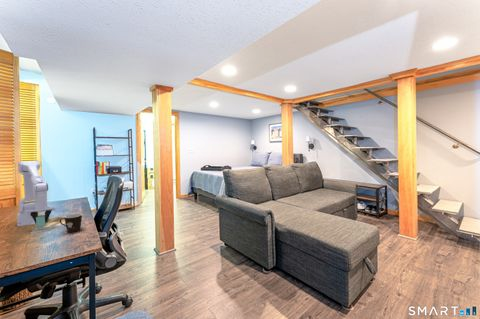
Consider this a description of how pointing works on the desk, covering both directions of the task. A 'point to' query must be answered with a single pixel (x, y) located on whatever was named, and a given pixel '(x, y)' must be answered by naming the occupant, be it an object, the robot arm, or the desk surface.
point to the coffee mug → (72, 223)
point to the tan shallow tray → (55, 221)
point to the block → (40, 221)
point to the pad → (41, 229)
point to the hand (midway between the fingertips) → (41, 222)
